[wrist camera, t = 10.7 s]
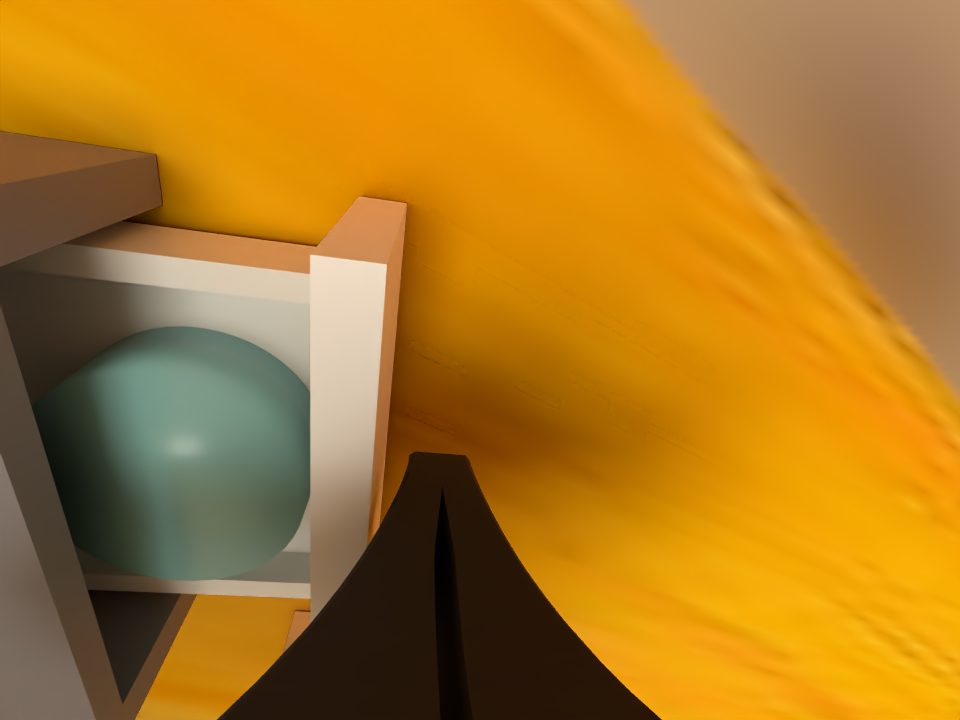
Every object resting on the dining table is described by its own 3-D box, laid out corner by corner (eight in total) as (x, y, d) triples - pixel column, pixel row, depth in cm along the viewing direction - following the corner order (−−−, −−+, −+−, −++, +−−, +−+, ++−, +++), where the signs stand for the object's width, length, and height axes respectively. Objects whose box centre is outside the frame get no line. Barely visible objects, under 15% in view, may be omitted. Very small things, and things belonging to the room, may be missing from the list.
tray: (375, 575, 16) (353, 730, 12) (65, 560, 15) (-71, 728, 11) (407, 203, 11) (387, 264, 7) (-73, 133, 9) (-439, 157, 5)
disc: (319, 525, 14) (300, 589, 12) (99, 505, 13) (44, 570, 11) (332, 346, 11) (310, 392, 9) (61, 307, 10) (-18, 350, 9)
